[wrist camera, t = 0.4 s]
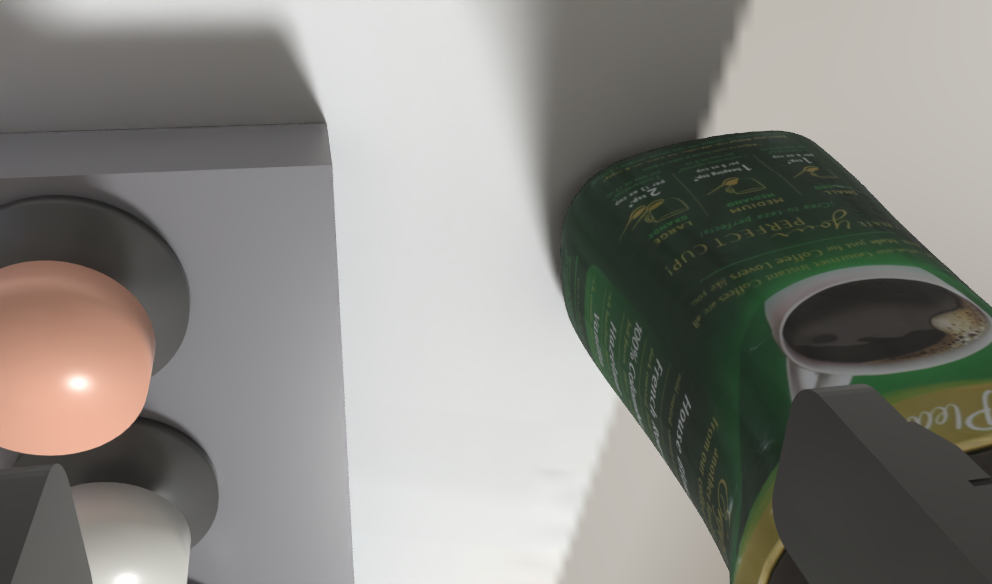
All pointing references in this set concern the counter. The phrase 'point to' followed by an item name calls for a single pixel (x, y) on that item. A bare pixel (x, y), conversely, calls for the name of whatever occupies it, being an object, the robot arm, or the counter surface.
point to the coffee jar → (763, 317)
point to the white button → (131, 534)
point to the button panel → (210, 328)
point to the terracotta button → (69, 358)
